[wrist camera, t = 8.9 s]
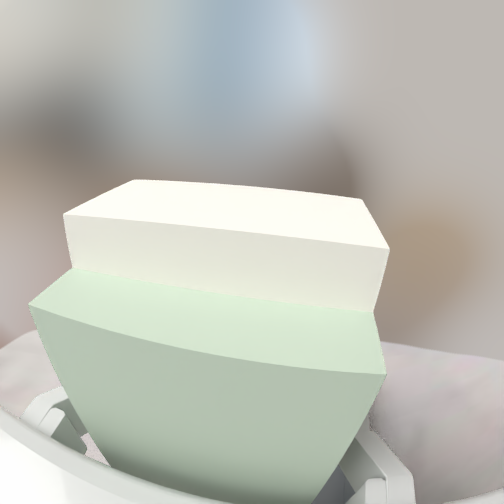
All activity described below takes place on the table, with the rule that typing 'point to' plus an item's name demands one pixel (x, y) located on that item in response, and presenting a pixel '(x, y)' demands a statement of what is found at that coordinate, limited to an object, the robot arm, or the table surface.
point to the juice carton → (219, 334)
